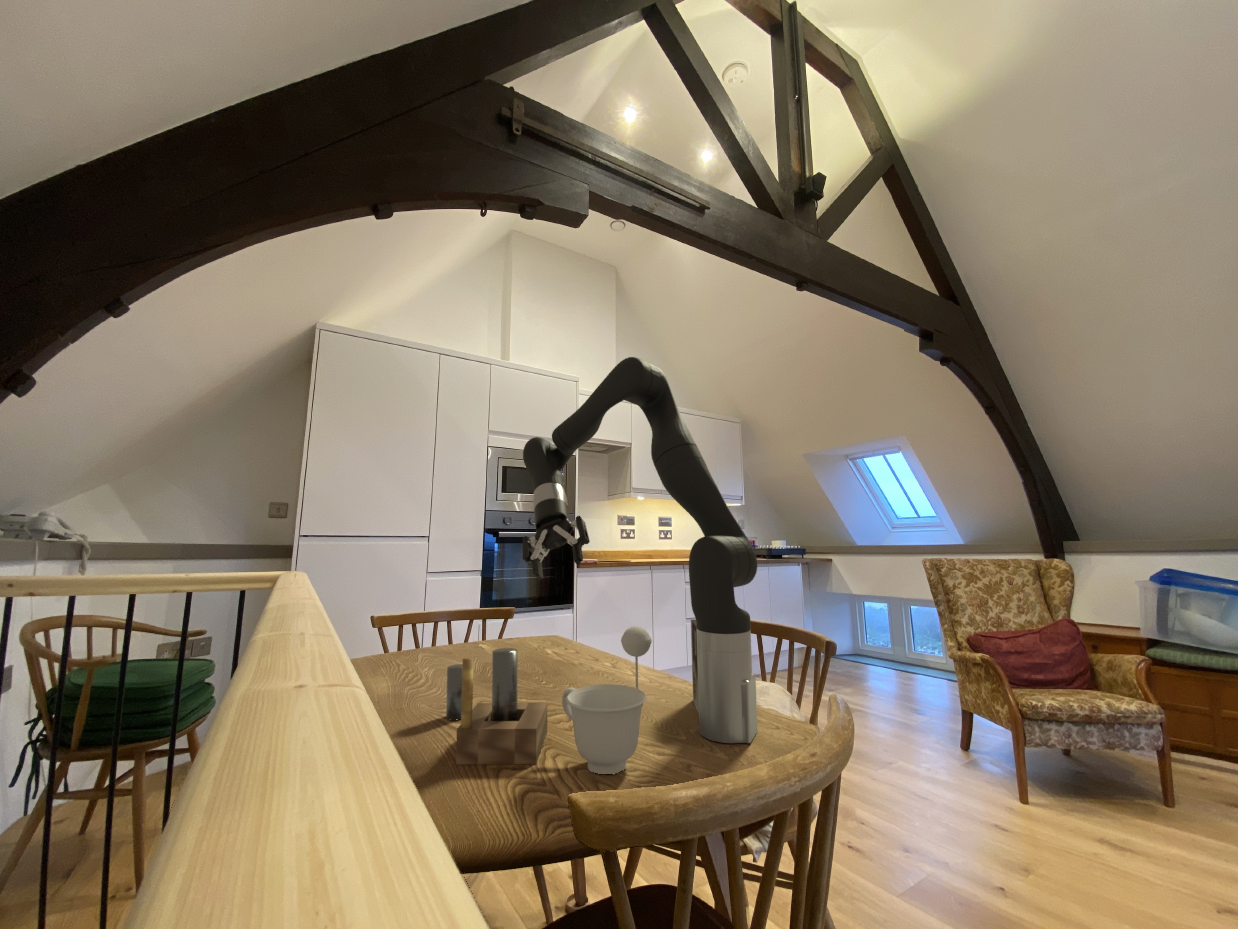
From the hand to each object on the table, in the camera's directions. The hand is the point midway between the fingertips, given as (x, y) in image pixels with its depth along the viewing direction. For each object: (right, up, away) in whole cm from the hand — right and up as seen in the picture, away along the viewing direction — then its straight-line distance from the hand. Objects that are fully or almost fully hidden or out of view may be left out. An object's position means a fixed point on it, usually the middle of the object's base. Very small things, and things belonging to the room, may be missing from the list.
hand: (558, 570), depth 108 cm
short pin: (-18, -26, -8) cm, 33 cm away
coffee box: (+30, -26, -4) cm, 40 cm away
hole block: (-6, -24, -22) cm, 33 cm away
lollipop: (+16, -26, -2) cm, 31 cm away
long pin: (-6, -24, -22) cm, 33 cm away
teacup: (+9, -23, -28) cm, 38 cm away
